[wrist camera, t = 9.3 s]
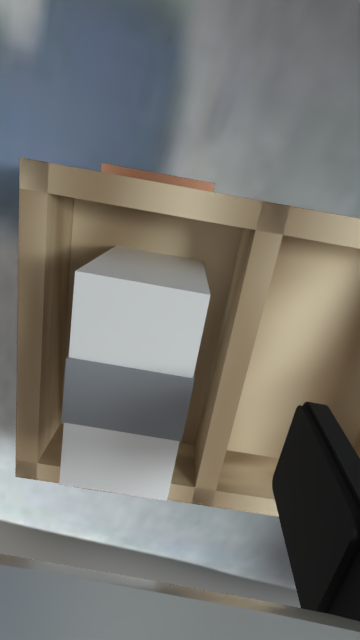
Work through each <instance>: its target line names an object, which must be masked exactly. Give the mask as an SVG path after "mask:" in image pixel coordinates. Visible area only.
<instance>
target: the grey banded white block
mask: <svg viewBox="0 0 360 640" xmlns="http://www.w3.org/2000/svg"><path fill="white" fill-rule="evenodd" d="M210 296H211V294H210V290H209V286H208V281H207V277H206V272H205V268H204V263H203V261H199V260H194V259H188V258H183V257H177V256H172V255H166V254H160V253H155V252H149V251H144V250H138V249H133V248H127V247H122V246H115V247H113V248H112V249H110V250H109V251H107V252H105V253H104V254H102V255H100V256H99V257H97V258H95V259H94V260H92V261H91V262H89V263H87V264H86V265H84V266H82V267H81V268H79V269H77V270H76V271H75V279H74V293H73V306H72V319H71V333H70V346H69V355H68V356H67V358H66V365H65V379H64V393H63V407H62V421H61V422H64V426H63V440H62V453H61V466H60V480H59V484H60V485H67V486H73V487H80V488H86V489H92V490H99V491H105V492H111V493H118V494H124V495H130V496H137V497H143V498H150V499H156V500H162V501H167V498H168V494H169V489H170V484H171V480H172V475H173V470H174V465H175V461H176V456H177V451H178V447H179V442H180V441H182V436H183V432H184V427H185V422H186V418H187V413H188V408H189V404H190V399H191V394H192V390H193V385H194V380H195V379H194V371H195V366H196V362H197V357H198V352H199V347H200V343H201V338H202V333H203V329H204V324H205V319H206V314H207V310H208V305H209V300H210Z"/></svg>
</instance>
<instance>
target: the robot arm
mask: <svg viewBox="0 0 360 640" xmlns="http://www.w3.org/2000/svg"><path fill="white" fill-rule="evenodd" d="M272 490H273V494H274V498H275V502H276V506H277V511H278V515H279V519H280V523H281V527H282V531H283V535H284V539H285V544H286V548H287V552H288V556H289V560H290V564H291V568H292V572H293V577H294V581H295V585H296V589H297V593H298V597H299V601H300V605H301V608H297V607H292V606H287V605H282V604H276V603H272V602H266V601H262V600H257V599H251V598H246V597H241V596H235V595H229V594H224V593H218V592H213V591H206V590H201V589H196V588H190V587H184V586H179V585H174V584H168V583H162V582H157V581H152V580H146V579H141V578H135V577H129V576H123V575H118V574H112V573H107V572H101V571H95V570H89V569H84V568H78V567H72V566H66V565H61V564H55V563H49V562H43V561H38V560H32V559H26V558H20V557H15V556H9V555H3V554H0V640H360V458H359V457H358V455H357V453H356V452H355V450H354V448H353V447H352V445H351V443H350V442H349V440H348V438H347V437H346V435H345V433H344V432H343V430H342V428H341V427H340V425H339V423H338V422H337V420H336V418H335V417H334V415H333V413H332V412H331V410H330V408H329V407H328V406H327V405H324V404H318V403H313V402H305V403H304V404H303V406H301V405H299V406H297V408H296V410H295V413H294V416H293V419H292V422H291V425H290V428H289V431H288V434H287V437H286V440H285V443H284V446H283V448H282V451H281V454H280V457H279V460H278V463H277V466H276V469H275V472H274V475H273V479H272Z"/></svg>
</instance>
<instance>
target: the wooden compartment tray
mask: <svg viewBox="0 0 360 640" xmlns="http://www.w3.org/2000/svg"><path fill="white" fill-rule="evenodd" d="M214 184H215V183H210V182H204V181H198V180H193V179H187V178H182V177H176V176H171V175H165V174H160V173H154V172H149V171H143V170H138V169H132V168H127V167H121V166H116V165H110V164H105V163H102V164H101V172H98V171H92V170H87V169H81V168H76V167H70V166H65V165H59V164H54V163H48V162H43V161H37V160H31V159H26V158H20V169H19V247H18V324H17V402H16V477H21V478H27V479H34V480H40V481H47V482H54V483H59V480H60V466H61V453H62V440H63V426H64V422H61V421H62V407H63V393H64V379H65V365H66V358H67V356H68V355H69V346H70V333H71V319H72V306H73V293H74V279H75V271H76V270H77V269H79V268H81V267H82V266H84V265H86V264H87V263H89V262H91V261H92V260H94V259H95V258H97V257H99V256H100V255H102V254H104V253H105V252H107V251H109V250H110V249H112V248H113V247H115V246H122V247H127V248H133V249H138V250H144V251H149V252H155V253H160V254H166V255H172V256H177V257H183V258H188V259H194V260H199V261H203V263H204V268H205V272H206V277H207V281H208V286H209V290H210V294H211V296H210V300H209V305H208V310H207V314H206V319H205V324H204V329H203V333H202V338H201V343H200V347H199V352H198V357H197V362H196V366H195V371H194V379H195V380H194V385H193V390H192V394H191V399H190V404H189V408H188V413H187V418H186V422H185V427H184V432H183V436H182V441H180V442H179V447H178V451H177V456H176V461H175V465H174V470H173V475H172V480H171V484H170V489H169V494H168V498H167V500H172V501H178V502H185V503H192V504H198V505H205V506H211V507H218V508H224V509H231V510H238V511H244V512H251V513H257V514H264V515H270V516H277V517H279V515H278V511H277V506H276V502H275V498H274V494H273V490H272V479H273V475H274V472H275V469H276V466H277V463H278V460H279V457H280V454H281V451H282V448H283V446H284V443H285V440H286V437H287V434H288V431H289V428H290V425H291V422H292V419H293V416H294V413H295V410H296V408H297V406H299V405H301V406H303V404H304V403H305V402H313V403H318V404H324V405H327V406H328V407H329V408H330V410H331V412H332V413H333V415H334V417H335V418H336V420H337V422H338V423H339V425H340V427H341V428H342V430H343V432H344V433H345V435H346V437H347V438H348V440H349V442H350V443H351V445H352V447H353V448H354V450H355V452H356V453H357V455H358V457H359V458H360V219H359V218H353V217H348V216H342V215H337V214H331V213H326V212H320V211H314V210H309V209H303V208H298V207H292V206H287V205H281V204H276V203H270V202H264V201H259V200H253V199H248V198H242V197H237V196H231V195H226V194H220V193H215V192H213V190H214ZM77 488H80V487H77ZM84 489H86V488H84ZM90 490H92V489H90ZM97 491H99V490H97ZM103 492H105V491H103ZM110 493H111V492H110ZM117 494H118V493H117ZM123 495H124V494H123ZM136 497H137V496H136Z"/></svg>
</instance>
